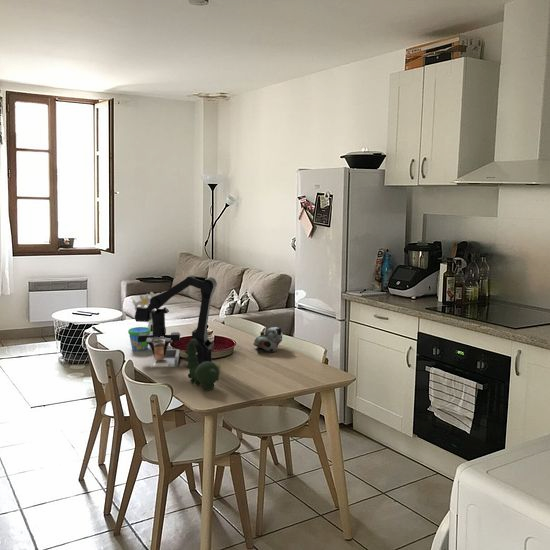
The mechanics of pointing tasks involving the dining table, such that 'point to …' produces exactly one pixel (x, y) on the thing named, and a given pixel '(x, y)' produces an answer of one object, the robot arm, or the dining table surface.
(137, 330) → the snack cup
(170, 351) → the two-wall tray
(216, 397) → the dining table surface
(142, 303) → the flower vase
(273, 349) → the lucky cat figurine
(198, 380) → the toy figurine
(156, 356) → the terracotta block
